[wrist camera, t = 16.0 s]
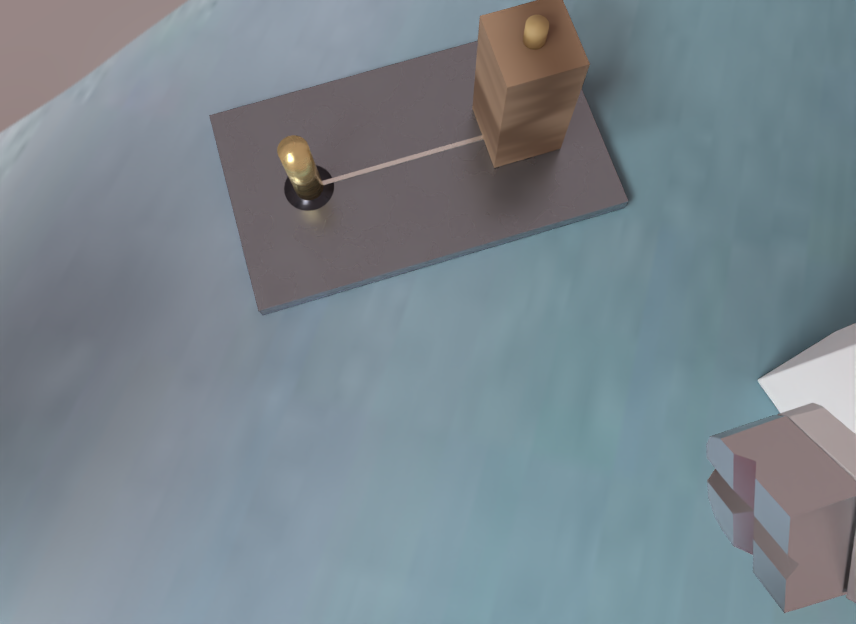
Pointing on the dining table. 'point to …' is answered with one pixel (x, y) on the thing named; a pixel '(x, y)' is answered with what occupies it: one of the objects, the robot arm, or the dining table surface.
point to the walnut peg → (527, 79)
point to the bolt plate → (392, 179)
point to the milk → (819, 378)
